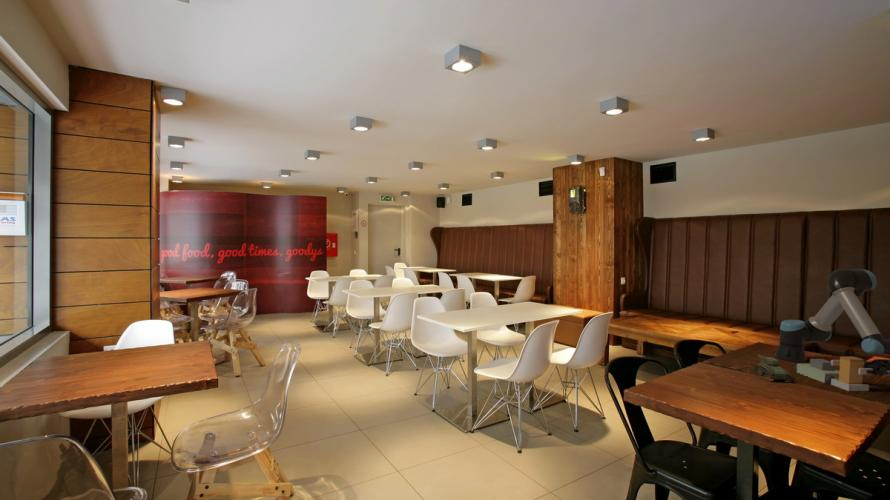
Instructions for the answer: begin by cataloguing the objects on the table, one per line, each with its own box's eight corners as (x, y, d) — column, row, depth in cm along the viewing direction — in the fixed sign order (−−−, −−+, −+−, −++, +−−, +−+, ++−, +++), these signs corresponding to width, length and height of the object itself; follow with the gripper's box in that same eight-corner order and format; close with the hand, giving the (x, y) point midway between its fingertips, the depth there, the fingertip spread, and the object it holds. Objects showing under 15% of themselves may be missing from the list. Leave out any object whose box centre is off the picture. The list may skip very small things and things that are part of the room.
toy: (767, 371, 238) (768, 353, 238) (791, 383, 220) (792, 364, 219) (748, 370, 239) (749, 352, 238) (770, 382, 220) (771, 362, 220)
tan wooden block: (838, 385, 217) (840, 356, 217) (851, 386, 218) (853, 356, 217) (848, 389, 212) (850, 359, 212) (861, 389, 213) (863, 359, 212)
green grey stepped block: (793, 371, 239) (794, 355, 239) (815, 371, 240) (816, 355, 240) (846, 391, 210) (848, 372, 210) (871, 391, 211) (872, 372, 211)
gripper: (912, 383, 204) (871, 383, 202) (858, 366, 228) (821, 366, 227) (914, 367, 203) (872, 367, 202) (859, 352, 228) (821, 352, 227)
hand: (845, 366), depth 214 cm, fingers open, 13 cm apart
